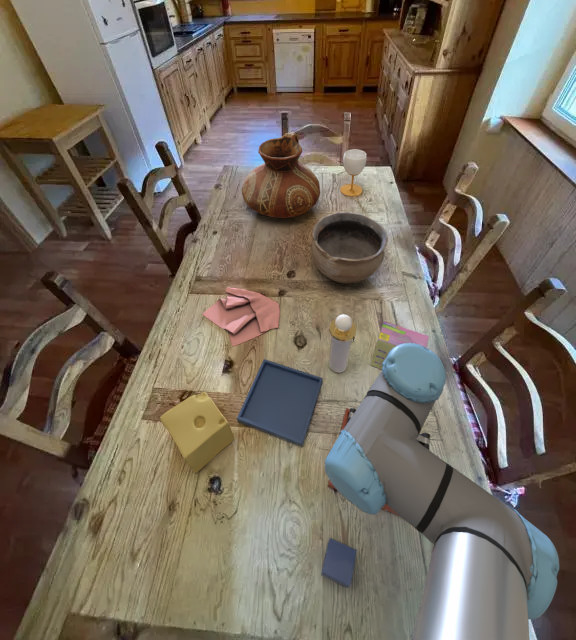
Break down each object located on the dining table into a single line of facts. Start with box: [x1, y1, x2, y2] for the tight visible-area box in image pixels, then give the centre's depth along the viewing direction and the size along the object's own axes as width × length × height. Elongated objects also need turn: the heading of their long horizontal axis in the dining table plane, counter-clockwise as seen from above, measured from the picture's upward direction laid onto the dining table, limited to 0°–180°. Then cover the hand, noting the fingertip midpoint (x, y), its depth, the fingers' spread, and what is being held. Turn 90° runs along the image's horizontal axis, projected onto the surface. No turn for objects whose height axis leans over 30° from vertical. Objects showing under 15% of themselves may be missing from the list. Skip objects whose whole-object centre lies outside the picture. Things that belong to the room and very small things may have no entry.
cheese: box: [159, 391, 236, 474], centre depth 70 cm, size 10×11×10 cm
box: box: [370, 320, 430, 370], centre depth 81 cm, size 10×6×12 cm, turn 65°
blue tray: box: [236, 358, 324, 448], centre depth 78 cm, size 15×15×2 cm
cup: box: [340, 148, 368, 197], centre depth 135 cm, size 9×9×16 cm
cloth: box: [201, 287, 281, 347], centre depth 97 cm, size 20×22×2 cm
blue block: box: [320, 537, 358, 588], centre depth 56 cm, size 4×4×6 cm
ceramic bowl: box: [310, 211, 389, 284], centre depth 103 cm, size 22×22×15 cm
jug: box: [241, 132, 321, 219], centre depth 127 cm, size 30×30×25 cm
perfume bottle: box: [328, 313, 357, 373], centre depth 78 cm, size 6×6×20 cm
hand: (374, 458), depth 69 cm, fingers open, 6 cm apart
